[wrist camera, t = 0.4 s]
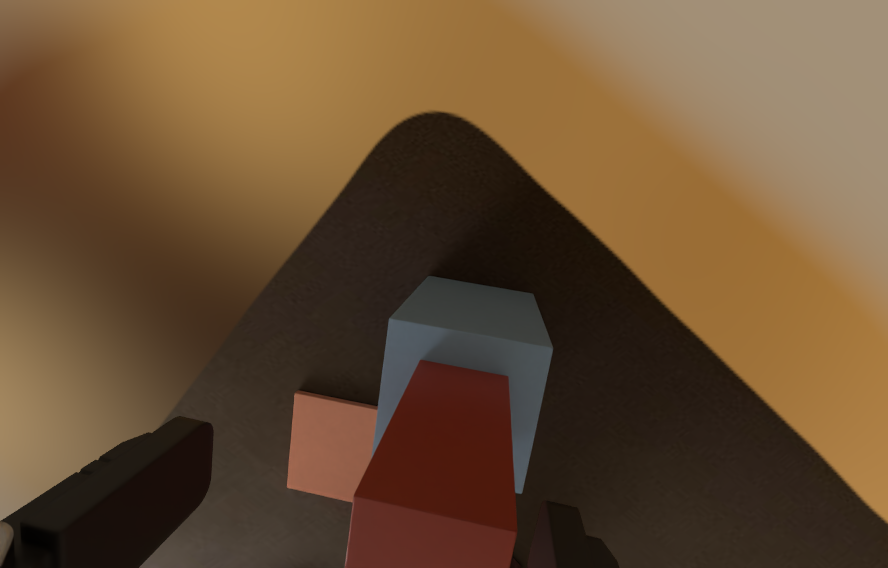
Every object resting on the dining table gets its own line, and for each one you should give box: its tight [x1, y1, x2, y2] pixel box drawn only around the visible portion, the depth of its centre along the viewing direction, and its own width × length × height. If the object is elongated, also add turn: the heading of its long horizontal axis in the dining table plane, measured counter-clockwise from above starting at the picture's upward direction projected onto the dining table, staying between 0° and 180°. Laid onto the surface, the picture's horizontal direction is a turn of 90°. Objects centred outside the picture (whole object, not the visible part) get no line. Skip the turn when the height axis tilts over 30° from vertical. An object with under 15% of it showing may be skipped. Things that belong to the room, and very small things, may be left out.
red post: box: [345, 360, 517, 568], centre depth 17 cm, size 4×4×10 cm
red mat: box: [287, 390, 378, 502], centre depth 36 cm, size 9×9×1 cm
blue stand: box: [371, 276, 553, 494], centre depth 27 cm, size 8×8×12 cm
